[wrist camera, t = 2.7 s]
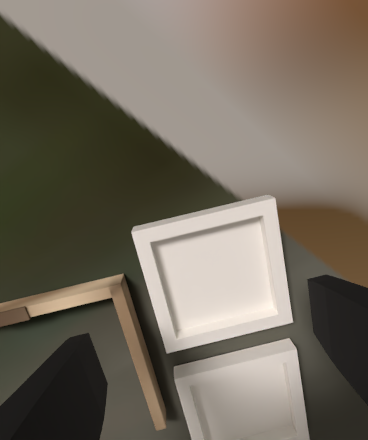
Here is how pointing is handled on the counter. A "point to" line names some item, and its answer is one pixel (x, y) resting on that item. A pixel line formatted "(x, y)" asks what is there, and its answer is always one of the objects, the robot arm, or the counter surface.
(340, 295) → the robot arm
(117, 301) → the oak pen
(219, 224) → the dish
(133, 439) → the counter surface
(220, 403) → the dish
